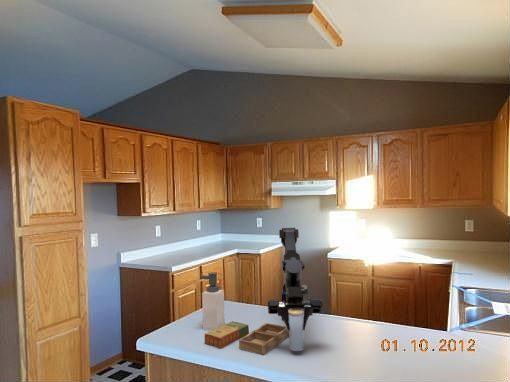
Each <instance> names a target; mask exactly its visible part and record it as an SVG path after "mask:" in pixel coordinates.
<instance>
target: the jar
mask: <svg viewBox="0 0 510 382" xmlns="http://www.w3.org/2000/svg"><path fill="white" fill-rule="evenodd" d="M288 313H289V321H288V322H289V336H288V337H289V338H288V344H289V350H291V351H293V352H301V351H303V350H304V348H305V347H304V345H305V344H304V343H305V342H304V330H303V319H304V309H300V308H291V309H289V310H288Z"/></svg>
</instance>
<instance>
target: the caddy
mask: <svg viewBox="0 0 510 382" xmlns="http://www.w3.org/2000/svg"><path fill="white" fill-rule="evenodd" d="M288 337H289V331H288V329H287V327H286V325H280V324H279V325H278V324H274V323H269V322H265V323H264V324H262V325H260V326H259V327H257V328H256V329H254V330H253V331H251V332H250V333H249V334H248V335H246V336H245V337H243V338H241V339H239V340H238V349H239V350H241V351H242V350H243V351H246V352H250V353H255V354H258V355H262V356H265V355H266V354H268V353H269V352H271V350H272V349H274V348H275V347H277V345H279V344H280V343H281V342H283V341H284V340H286V339H287V338H288Z"/></svg>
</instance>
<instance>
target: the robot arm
mask: <svg viewBox="0 0 510 382" xmlns="http://www.w3.org/2000/svg"><path fill="white" fill-rule="evenodd" d="M299 235H300V234H299V229H298V228H297V229H296V227H281V229H279V231H278V237H279V239H280V242H281V245H282V246H283V248H284V255H283V260H281V270H282V271H283V272H284V275H285V276H284V278H285V279H284V281H285V282H284V284H283V286H282V291H280V299H269V300H268V301H267V311H268V312H267V313H268V314H269V315H277V316H279V317H281V321H283V322H284V326H285V327H287V329H288V331H289V313H288V310H289V309H291V308H300V309H302V310H303V332H304V331H305V330H306V326H307V324H308V319H309V317H310V316H313V314H322V311H323V307H324V306H323V301H322V299H321V298H310V299H309V300H310V301H309V302H304V296H307V295H308V294H309V293H308V292H309V291H308V284H302V271H304V270H305V264H304V262H303V260H301V257H300V254H299V253H298V252H297V247H296V245H297V241H298V239H299V238H300V237H299ZM280 300H281V301H280Z"/></svg>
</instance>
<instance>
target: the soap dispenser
mask: <svg viewBox="0 0 510 382" xmlns="http://www.w3.org/2000/svg"><path fill="white" fill-rule="evenodd" d="M217 274H218V272H216V271H210V272H208V274H207V275H205V274H201V275H199V279H200V280H208V286H207V287H206V290H205V291H203V292H202V293H201V301H202V330H209V331H212V330H214V329H216V328H219V327H221V326H223V325H225V324H226V322H225V320H226V319H225V315H226V314H225V290H224V289H220V286H219V285H218V284H217V283H218V282H217V281H218V278H217V277H218V275H217Z"/></svg>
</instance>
